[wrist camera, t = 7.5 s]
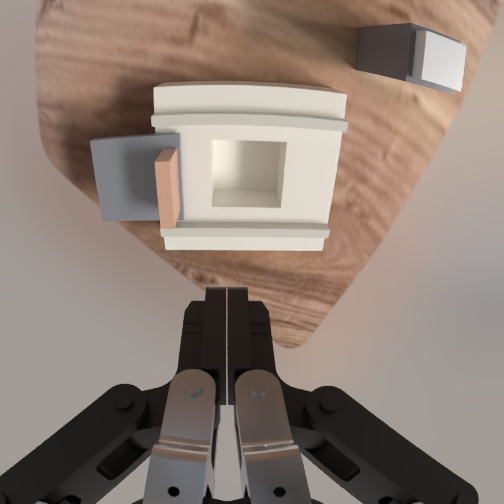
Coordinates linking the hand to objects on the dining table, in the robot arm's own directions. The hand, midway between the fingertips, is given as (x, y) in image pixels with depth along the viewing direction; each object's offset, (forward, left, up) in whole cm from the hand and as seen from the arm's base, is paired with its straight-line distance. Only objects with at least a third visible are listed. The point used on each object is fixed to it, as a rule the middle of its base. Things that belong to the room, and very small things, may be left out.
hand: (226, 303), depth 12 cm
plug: (-10, +12, -19) cm, 25 cm away
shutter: (+1, -7, -14) cm, 16 cm away
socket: (+1, +1, -19) cm, 19 cm away
